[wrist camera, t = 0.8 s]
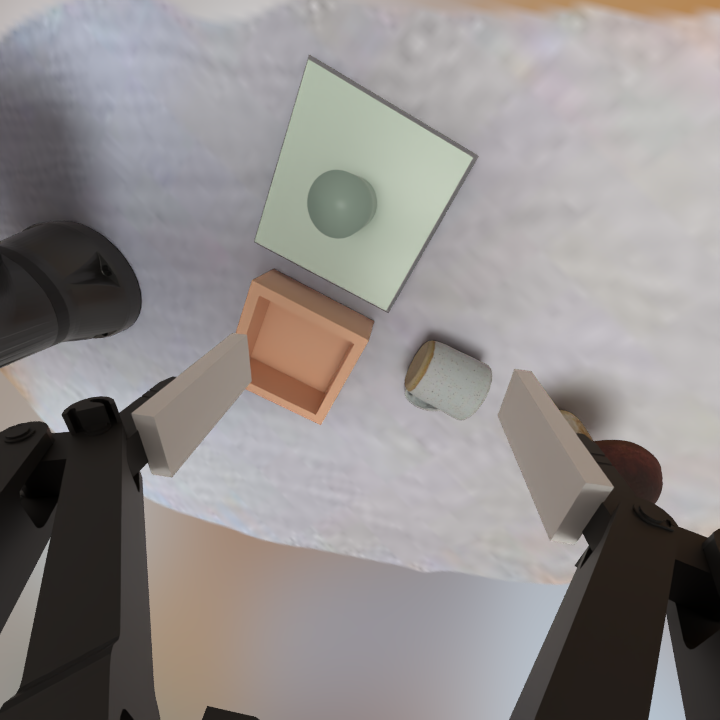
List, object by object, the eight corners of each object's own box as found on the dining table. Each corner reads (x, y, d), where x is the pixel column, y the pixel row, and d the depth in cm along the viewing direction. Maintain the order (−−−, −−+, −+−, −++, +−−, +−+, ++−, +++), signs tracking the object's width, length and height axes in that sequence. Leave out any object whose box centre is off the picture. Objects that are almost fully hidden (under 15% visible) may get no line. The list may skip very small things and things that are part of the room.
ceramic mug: (428, 327, 39) (431, 355, 32) (486, 354, 40) (501, 387, 33) (391, 389, 44) (387, 424, 38) (442, 412, 45) (447, 451, 38)
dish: (243, 356, 45) (221, 377, 40) (273, 268, 38) (251, 280, 33) (330, 399, 46) (320, 425, 41) (374, 321, 40) (368, 340, 34)
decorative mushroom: (514, 450, 46) (556, 552, 33) (512, 387, 41) (559, 477, 28) (599, 444, 43) (681, 551, 30) (606, 376, 39) (707, 468, 26)
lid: (258, 240, 37) (216, 252, 28) (311, 64, 29) (273, 12, 20) (386, 307, 38) (380, 337, 30) (471, 158, 30) (493, 145, 22)
